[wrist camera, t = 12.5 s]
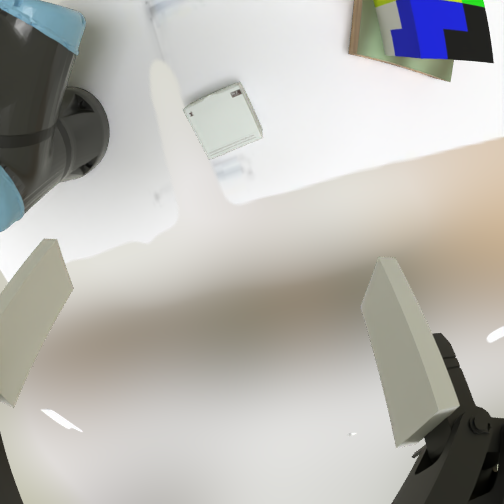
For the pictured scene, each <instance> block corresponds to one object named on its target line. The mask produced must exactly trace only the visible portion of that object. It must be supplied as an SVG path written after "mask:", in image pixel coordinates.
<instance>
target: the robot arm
mask: <svg viewBox="0 0 504 504" xmlns="http://www.w3.org/2000/svg"><path fill="white" fill-rule="evenodd" d="M85 26H86V21H85V18H84V16H83V15H82V14H81V13H80V12H78V11H75V10H72V9H69V8H66V7H63V6H59V5H56V4H52V3H48V2H44V1H40V0H0V232H1V231H4V230H5V229H7V228H8V227H9V226H11V225H12V224H13V223H14V222H15V221H18V220H20V219H21V218H22V217H23V215H24V214H25V213H26V212H27V211H28V210H29V209H30V208H31V207H32V206H33V205H34V204H35V203H36V202H38V201H39V200H40V199H41V198H42V197H43V196H44V195H45V194H46V193H47V192H49V191H50V190H51V189H52V188H53V187H54V186H56V185H57V184H58V183H60V182H64V181H69V180H74V179H77V178H80V177H82V176H84V175H86V174H87V173H89V172H90V171H91V170H92V169H93V168H95V167H96V166H97V165H98V164H99V163H100V161H101V160H102V158H103V156H104V154H105V152H106V150H107V146H108V141H109V125H108V120H107V116H106V114H105V111H104V109H103V107H102V106H101V104H100V103H99V101H98V100H97V99H96V98H95V97H94V96H93V95H92V94H90V93H89V92H87V91H85V90H83V89H80V88H76V87H67V88H66V86H67V83H68V79H69V76H70V73H71V70H72V67H73V64H74V61H75V58H76V56H78V54H79V51H78V48H79V45H80V42H81V39H82V36H83V33H84V30H85ZM73 289H74V288H73V285H72V282H71V280H70V277H69V274H68V271H67V268H66V265H65V263H64V260H63V257H62V254H61V251H60V247H59V244H58V241H57V239H43V240H42V242H41V243H40V244H39V245H38V246H37V247H36V249H35V250H34V251H33V252H32V253H31V255H30V256H29V257H28V258H27V260H26V261H25V262H24V263H23V265H22V266H21V267H20V268H19V270H18V271H17V272H16V274H15V275H14V276H13V278H12V279H11V280H10V282H9V283H8V285H7V286H6V287H5V289H4V290H3V291H2V293H1V294H0V402H2V403H4V404H7V405H9V406H11V407H13V408H14V407H15V404H16V402H17V399H18V397H19V395H20V392H21V390H22V388H23V385H24V383H25V381H26V379H27V376H28V374H29V372H30V369H31V368H32V366H33V363H34V361H35V359H36V357H37V355H38V353H39V351H40V349H41V347H42V345H43V343H44V341H45V339H46V337H47V335H48V334H49V331H50V330H51V328H52V326H53V324H54V322H55V320H56V319H57V317H58V315H59V313H60V311H61V310H62V308H63V306H64V304H65V303H66V301H67V299H68V297H69V296H70V294H71V292H72V291H73ZM361 311H362V315H363V318H364V321H365V325H366V328H367V331H368V335H369V338H370V342H371V345H372V349H373V352H374V356H375V360H376V363H377V367H378V371H379V375H380V379H381V383H382V387H383V391H384V395H385V399H386V403H387V408H388V412H389V416H390V421H391V425H392V430H393V435H394V439H395V444H396V448H400V447H405V446H410V445H415V444H417V443H418V442H419V441H420V440H422V439H423V438H425V442H426V445H424V446H423V447H422V448H421V449H419V450H418V451H416V452H415V454H414V455H413V456H412V457H413V458H415V457H416V456H418V455H419V457H418V458H417V460H416V462H415V464H414V466H413V468H412V470H411V471H410V473H409V475H408V477H407V479H406V480H405V482H404V484H403V486H402V487H401V489H400V491H399V492H398V494H397V496H396V497H395V499H394V500H393V502H392V504H504V419H503V418H492V417H490V415H489V413H488V412H487V411H486V410H484V409H483V408H480V407H477V406H476V405H475V403H474V401H473V398H472V396H471V393H470V390H469V387H468V385H467V382H466V380H465V377H464V375H463V372H462V370H461V368H460V365H459V362H458V360H457V358H455V357H456V356H455V353H454V351H453V349H452V346H451V344H450V343H449V342H448V340H447V339H446V338H445V337H444V336H443V335H442V334H441V333H435V334H432V333H431V330H430V328H429V326H428V323H427V321H426V319H425V317H424V315H423V313H422V310H421V308H420V306H419V304H418V302H417V300H416V298H415V296H414V293H413V292H412V289H411V287H410V285H409V283H408V281H407V279H406V277H405V276H404V274H403V272H402V270H401V268H400V266H399V264H398V262H397V260H396V258H393V257H392V258H391V257H378V259H377V262H376V265H375V268H374V271H373V274H372V276H371V279H370V282H369V285H368V288H367V290H366V293H365V296H364V298H363V301H362V304H361ZM497 464H499V465H498V471H497ZM0 504H23V502H22V499H21V497H20V494H19V491H18V489H17V486H16V483H15V481H14V478H13V475H12V472H11V469H10V465H9V462H8V459H7V456H6V452H5V449H4V445H3V441H2V437H1V434H0Z"/></svg>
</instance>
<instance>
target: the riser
mask: <svg viewBox="0 0 504 504" xmlns="http://www.w3.org/2000/svg"><path fill="white" fill-rule="evenodd" d="M349 54H351V55H356V56H360V57H365V58H369V59H373V60H377V61H381V62H385V63H388V64H392V65H396V66H399V67H402V68H406V69H409V70H412V71H415V72H418V73H421V74H424V75H427V76H430V77H433V78H436V79H440V80H444V81H448V82H450V81H451V75H452V68H453V62H454V60H451V59H420V58H410V57H398V56H385V52H384V46H383V41H382V36H381V31H380V27H379V22H378V18H377V13H376V9H375V5H374V1H373V0H354V8H353V18H352V28H351V37H350V46H349Z"/></svg>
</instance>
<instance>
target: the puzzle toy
mask: <svg viewBox="0 0 504 504" xmlns="http://www.w3.org/2000/svg"><path fill="white" fill-rule="evenodd" d="M373 1H374V5H375V9H376V13H377V18H378V22H379V27H380V31H381V36H382V41H383V46H384V52H385V56H398V57H410V58H420V59H451V60H466V61H478V62H487V63H494V62H493V53H492V46H491V39H490V32H489V26H488V21H487V16H486V11H485V6H484V2H483V0H373Z"/></svg>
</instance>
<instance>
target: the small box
mask: <svg viewBox="0 0 504 504" xmlns="http://www.w3.org/2000/svg"><path fill="white" fill-rule="evenodd" d="M183 111H184V113H185V115H186V117H187V119H188V121H189V122H190V124H191V126H192V128H193V130H194V132H195V134H196V136H197V138H198V140H199V141H200V143H201V145H202V147H203V149H204V151H205V153H206V155H207V157H208V159H209V160H210V159H213V158H216V157H218V156H220V155H223V154H225V153H228V152H230V151H232V150H235V149H237V148H239V147H242V146H244V145H247V144H249V143H252V142H254V141H256V140H259V139H261V138H262V127H261V125H260V123H259V120H258V118H257V116H256V114H255V111H254V109H253V107H252V105H251V103H250V101H249V98H248V96H247V94H246V92H245V90H244V88H243V86H242V84H241V82H238V83H235V84H233V85H230V86H228V87H225V88H223V89H221V90H219V91H216V92H214V93H212V94H210V95H207V96H205V97H203V98H201V99H199V100H197V101H195V102H193V103H191V104H190V105H188V106H187V107H185V108H184V109H183Z"/></svg>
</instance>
